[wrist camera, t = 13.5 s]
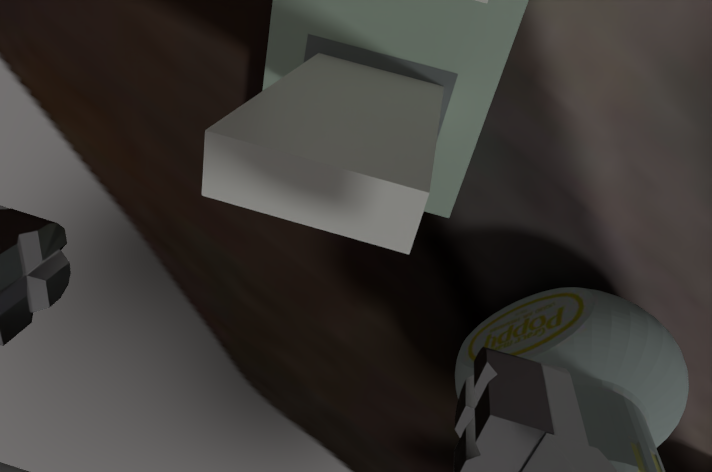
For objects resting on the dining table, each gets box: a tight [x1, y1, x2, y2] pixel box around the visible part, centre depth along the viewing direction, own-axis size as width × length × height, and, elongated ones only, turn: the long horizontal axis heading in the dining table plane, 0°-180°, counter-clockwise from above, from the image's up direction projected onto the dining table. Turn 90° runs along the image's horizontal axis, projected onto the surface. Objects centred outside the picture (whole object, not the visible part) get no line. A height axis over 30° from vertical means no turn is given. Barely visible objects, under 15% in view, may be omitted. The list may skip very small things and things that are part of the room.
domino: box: [202, 53, 444, 254], centre depth 17 cm, size 2×6×11 cm, turn 78°
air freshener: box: [455, 287, 689, 472], centre depth 24 cm, size 11×8×10 cm
